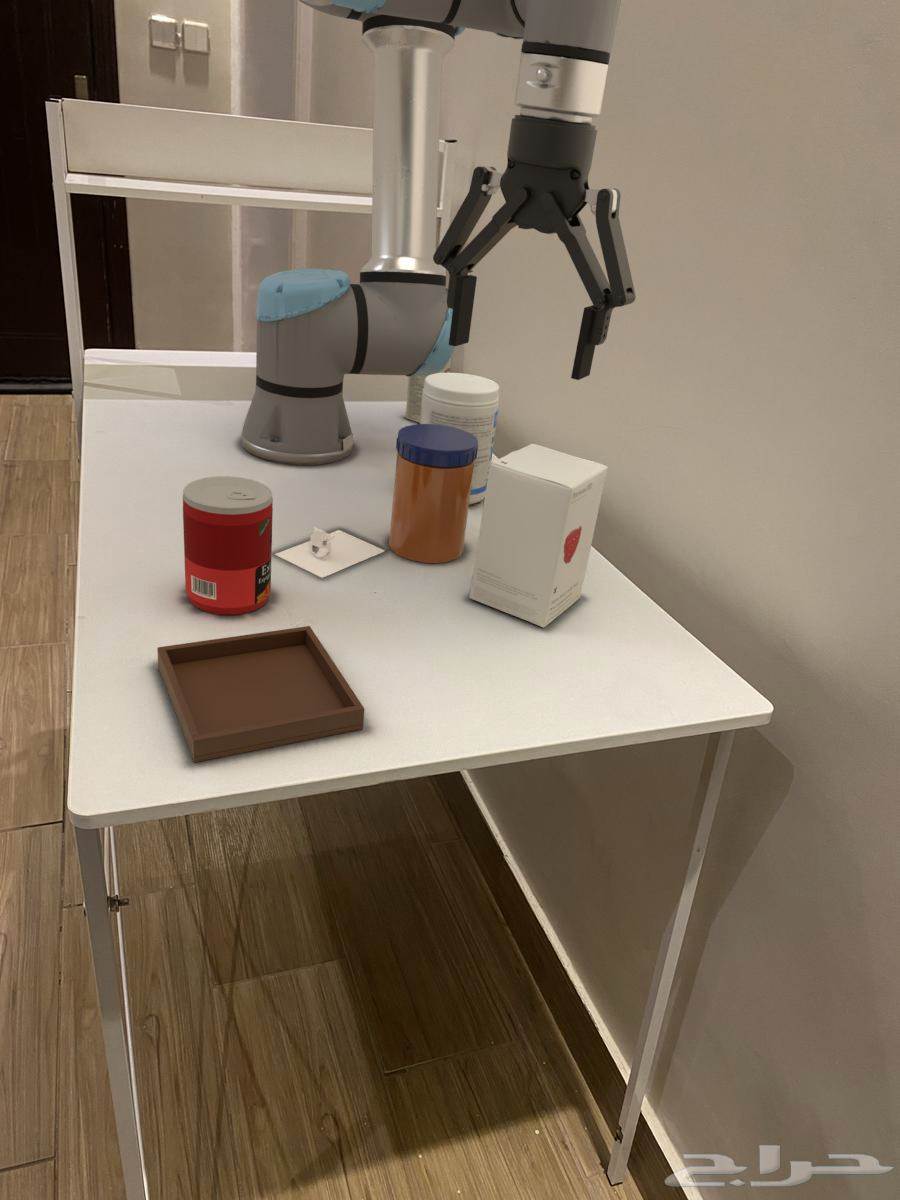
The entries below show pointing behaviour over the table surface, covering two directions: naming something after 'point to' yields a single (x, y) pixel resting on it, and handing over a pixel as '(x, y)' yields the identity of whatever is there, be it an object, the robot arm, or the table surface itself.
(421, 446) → the lid
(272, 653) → the tray
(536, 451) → the rectangular carton
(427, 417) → the supplement tub
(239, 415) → the table surface
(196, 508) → the canned food
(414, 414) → the cosmetics bottle
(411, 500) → the jar
